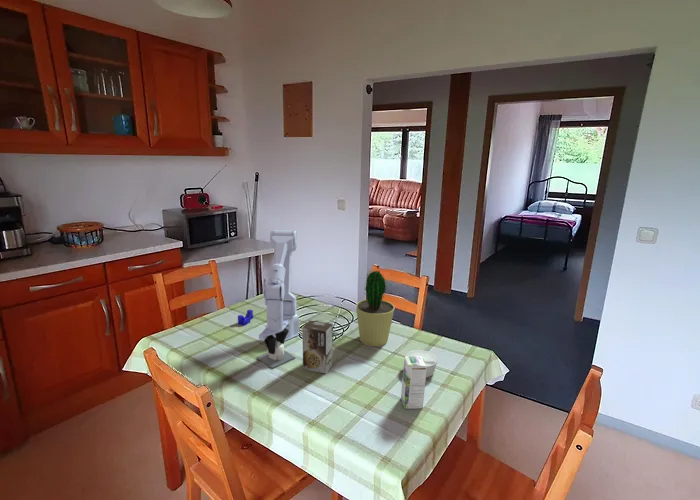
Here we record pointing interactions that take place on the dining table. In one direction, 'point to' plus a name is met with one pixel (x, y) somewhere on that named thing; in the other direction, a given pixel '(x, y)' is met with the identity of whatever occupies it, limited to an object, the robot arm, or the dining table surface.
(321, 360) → the brown food box
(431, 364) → the ramekin
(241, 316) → the cable holder
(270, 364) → the slate coaster
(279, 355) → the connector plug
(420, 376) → the syrup box
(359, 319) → the potted cactus
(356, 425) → the dining table surface
